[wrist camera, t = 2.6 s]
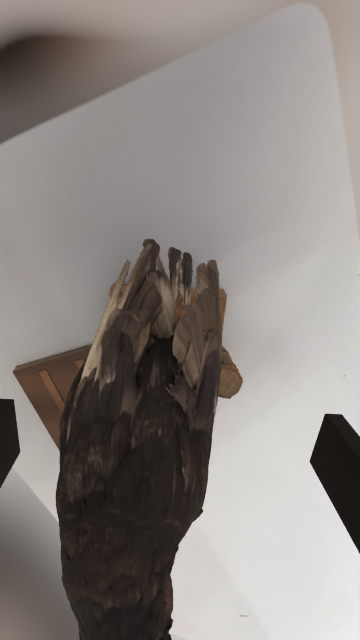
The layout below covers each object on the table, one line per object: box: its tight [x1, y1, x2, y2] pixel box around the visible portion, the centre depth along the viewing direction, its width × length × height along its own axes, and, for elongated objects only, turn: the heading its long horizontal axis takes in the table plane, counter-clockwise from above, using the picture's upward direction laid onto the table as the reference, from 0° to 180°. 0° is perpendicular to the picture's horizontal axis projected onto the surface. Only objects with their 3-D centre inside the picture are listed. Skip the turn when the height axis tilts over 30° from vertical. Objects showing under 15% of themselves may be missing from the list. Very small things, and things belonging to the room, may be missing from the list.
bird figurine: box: [56, 239, 243, 640], centre depth 19 cm, size 11×14×25 cm
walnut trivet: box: [13, 345, 92, 451], centre depth 35 cm, size 12×10×1 cm
